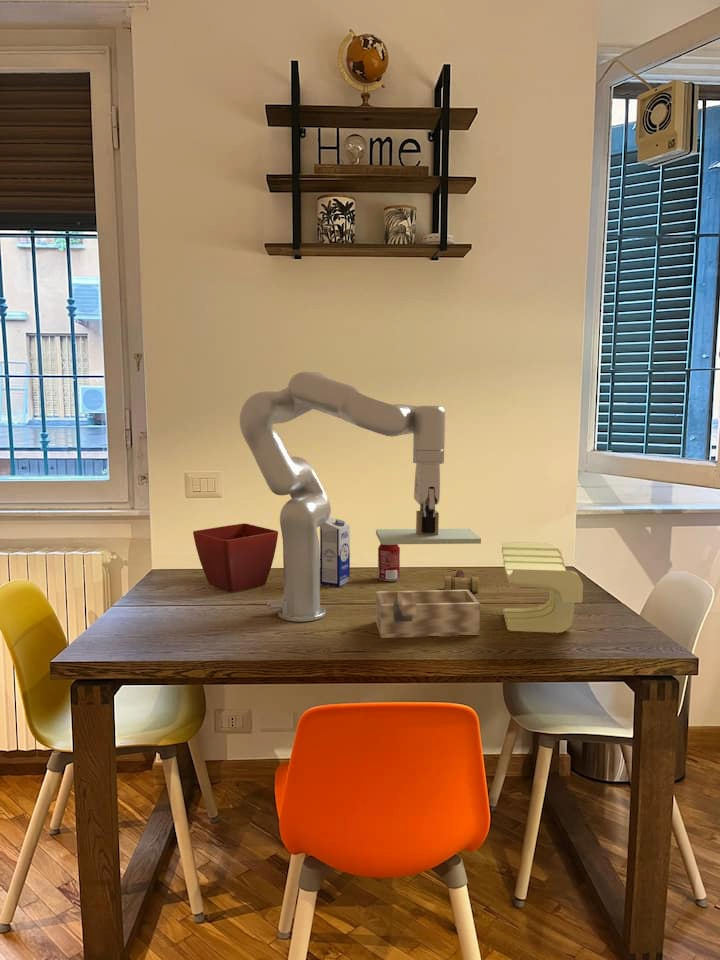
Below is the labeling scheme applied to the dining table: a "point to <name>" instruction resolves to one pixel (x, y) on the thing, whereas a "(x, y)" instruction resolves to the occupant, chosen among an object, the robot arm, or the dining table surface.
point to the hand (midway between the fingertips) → (427, 530)
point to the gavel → (461, 582)
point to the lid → (427, 534)
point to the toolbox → (428, 614)
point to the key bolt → (406, 604)
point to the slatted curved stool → (546, 571)
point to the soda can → (388, 562)
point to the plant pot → (236, 555)
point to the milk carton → (334, 553)
